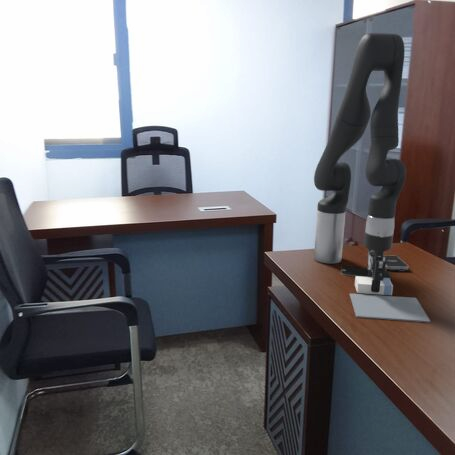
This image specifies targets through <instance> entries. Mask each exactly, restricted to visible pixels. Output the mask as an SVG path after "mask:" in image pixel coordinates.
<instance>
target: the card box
mask: <svg viewBox="0 0 455 455" xmlns="http://www.w3.org/2000/svg"><path fill="white" fill-rule="evenodd" d="M354 277H355V278H354V287H355V290H356V292H357V293H356V294H366V295H381V296H393V290H394V285H393V283H392V282H391V279H389V278H384V279H383V281H380V290H379V292H378V293H377V292H372V291H371V284H372V277H361V276H354Z"/></svg>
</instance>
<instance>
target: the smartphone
mask: <svg viewBox="0 0 455 455" xmlns="http://www.w3.org/2000/svg"><path fill="white" fill-rule="evenodd" d="M368 271H369V270H368V267H367V268H366V267H356V266H355V267H354V266H345V265H344V266H341V269H340V274H341V275H342V276H349V277H355V276H361V277H368ZM390 272H391V271H387V270H386V269H385V272H384V278H389V279H390V280H391V278H392V277H391V273H390ZM376 276H379V273H377V275H376Z"/></svg>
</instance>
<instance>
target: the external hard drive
mask: <svg viewBox="0 0 455 455" xmlns="http://www.w3.org/2000/svg"><path fill="white" fill-rule="evenodd" d="M383 256H385V261H386V265H385V270H386V271H389V272H408V271H409V265H408V264H407V263H406V262H405V261H404V260H402V258H400V257H399V256H397V255H385V254H383Z"/></svg>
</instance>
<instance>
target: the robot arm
mask: <svg viewBox="0 0 455 455" xmlns="http://www.w3.org/2000/svg"><path fill="white" fill-rule="evenodd" d="M404 43H405V42H404V40H403V37H401V35H399V34H397V33H383V32H382V33H381V32H380V33H379V32H371V33H366V34H365V35H363V36H362V38H361V39H360V40H359V42H358V45H357V48H356V49H355V55H354V59H353V62H352V67H351V71H350V74H349V79H348V81H347V86H346V89H345V92H344V94H343V98H342V100H341V103H340V106H339V109H338V111H337V114H336V116H335V120H334V122H333V125H332V130H331V133H330V134H329V135H330V136H329V137H328V138H329V139H328V141H327V143H326V145H325V148H324V150H323V152H322V155H321V157H320V159H319V161H318V163H317V165H316V168H315V171H314V176H313V177H314V178H313V182H314V183H313V184H314V186H315V188H316V190H318V191H321V192H329V191H330V192H331V193H330V194H329V195H328V196H326V197H325V198H323V199H320V200H319V201H318V203H317V210H316V211H317V212H316V222H315V223H316V225H315V238H314V240H315V241H314V253H313V259H314V260H315V261H316V262H318V263H322V264H327V265H328V264H329V265H330V264H331V265H332V264H339V263H341V262H342V258H343V246H344V234H345V233H344V232H345V221H346V210H347V206H348V202H349V196H350V188H351V183H352V171H351V167H350V165H349V164H348V163H347V162H342V161H339V160H340V159H341V157H342V156H343V155H345V154H346V153H347V152H348V151H349V150H350V149H352V147H354V146H355V145H356V144H357V143H358V142H359V141H360V140H361V139H362V137H363V136H364V134H365V131H366V129H367V126H368V124H369V122H370V125H369V126H370V148H369V150H368V157H367V160H366V166H365V178H366V180H367V182H368V183H369V184H370V185H371V186H373V187H381V189H380V191H378V192H377V193H374V194H372V195H371V196H370V197H369V200H368V202H369V203H368V212H367V217H366V221H365V229H364V230H365V232H364V239H363V241H364V242H363V245H364V246H363V247H365V248H366V249H368V250H367V260H366V267H367V269H368V270H369V271H368V277H372V284H371V291H372V292H377V293H378V292H379V290H380V281H383V279H384V272H385V270H386V269H385V265H386V261H385V256H383V255H384V252H387V251H390V250H391V249H392V248H393V240H394V231H395V214H396V207H397V202H398V199H399V197H400V194H401V192H402V189H403V187H404V185H405V182H406V178H407V169H406V166H405V163H404V162H403V161H402V160H401V159H397V158H391V159H387V157H388V153H389V151H393V150H395V149H397V148H398V147H399V141H400V140H399V136H400V135H399V105H400V104H399V103H400V102H399V101H400V95H401V89H402V81H403V71H404V65H405V44H404ZM372 72H383V76H384V80H383V88H382V91H381V93H380V96H379V98H378V100H377V102H376V103H375V106H374V109H373V110H372V112H371V106H370V105H371V104H370V102H369V98H368V93H367V85H368V82H369V79H370V75H371V74H372ZM377 273H379V276H376V275H377Z"/></svg>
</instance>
